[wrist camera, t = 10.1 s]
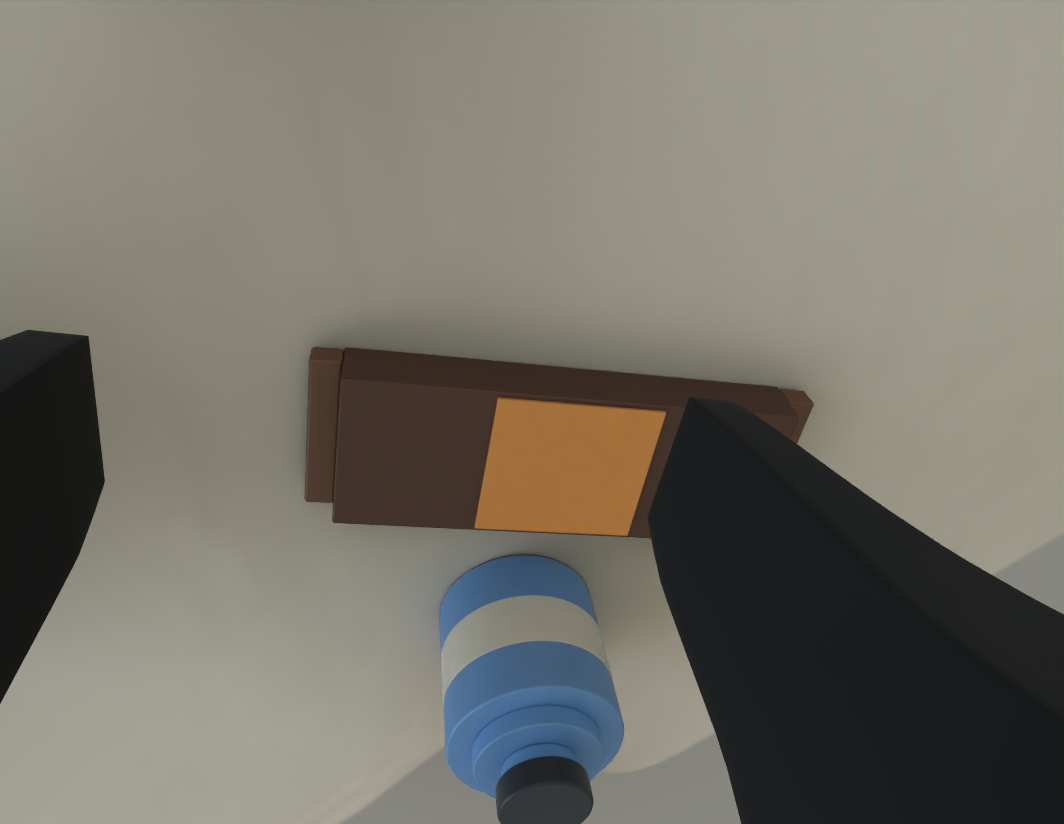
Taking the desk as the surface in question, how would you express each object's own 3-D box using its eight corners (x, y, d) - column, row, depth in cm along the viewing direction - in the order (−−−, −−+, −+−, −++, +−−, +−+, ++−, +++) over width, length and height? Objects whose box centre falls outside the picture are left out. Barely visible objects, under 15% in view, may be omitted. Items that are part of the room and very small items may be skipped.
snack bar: (307, 484, 22) (300, 524, 21) (312, 343, 20) (304, 377, 18) (752, 510, 25) (773, 546, 24) (802, 388, 23) (829, 422, 21)
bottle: (507, 681, 28) (533, 883, 22) (406, 614, 26) (406, 822, 20) (620, 606, 27) (679, 801, 21) (525, 528, 24) (561, 725, 18)
